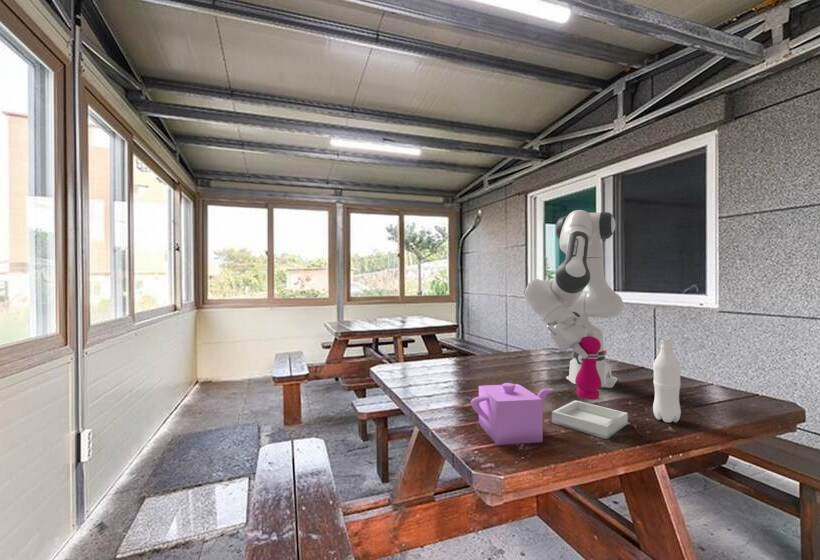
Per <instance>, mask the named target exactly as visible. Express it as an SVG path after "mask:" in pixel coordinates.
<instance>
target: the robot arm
mask: <svg viewBox="0 0 820 560" xmlns="http://www.w3.org/2000/svg"><path fill="white" fill-rule="evenodd" d="M616 224H617V223H616V220H615V218H614V215H613V214H612V213H611V212H608V211H601V212H588V211H587V210H583V209H576V210H573V211H571V212H570V213H568V215H565V216H562V217H560V218H558V220H557V221H556V223H555V234H556V237H557V239H559V240H558V241H559V249H560V250H561V252H563V253H564V254H565V255H566V256H565V259H564V260H563V261H562V262H561V263H560V264H559V266H558V268H557V270H556V273H555V276H554V278H553V279H552V280H551V279H550V280H542V279H538V278H534V279H533V280H531V281H530V282H529V283H528V284H527V285H526V287H525V288H524V291H523V298H524V299H525V301H526V303H527V304H528V306H529V307H530V308H531V309H532V311H533V312H534V313H535V314H536V315H537V316H539V317H540V318H541V321H542V322H543V323H544V325H545V326H546V328H547V330H548V334H549V336H550V337H551V339H552V340H553V342H554V343H555V344H556V345H557V347H558V348H559V349H560V350H562V351H566V350H572V357H573V358H572V359H571V360H569V371H568V373H569V374H568V375H567V376H566V380H567V381H569V382H571V384H574V385H577V384H576V383H575V380H576V376H577V373H578V372H579V370H580V368H581V365H582V358H583V359H586V358H588V357H589V353H588V352H587V351H584V350H583V349H582V348H581V347H580V345H579V342H581V339H582V338H583V337H586V336H587V333H588V332H593V337H595V338H597V339H598V340H599V341H600V344H601V348H600V350H599V351H598V352H597V353H598V354H599V355H598V358H597V361H596V368H597V371H598V374H599V376H600V379H601V387H600V388H608V389H612V388H613V387H614V386H615V385H616V383H617V381H618V378H617V377H615V376H612V367H611V365H610V364H609V363H608V362H607V361H606V355H607V350H606V349H604V333H603V331H602V330H601V329H600V328H599V327H598V326H596V325H594V324H592V323H591V322H590V320H589V318H602V319H607V318H608V319H609V318H615V317H618V316H619V315H621V313H622V312H623V309H624V301H623V299H622V297H621V296H620V294H618V293H617V292H616V291H614V290H613V289H612V288H611V287H610V285H608V282H607V280H606V277H605V271H604V270H605V269H604V248H603V243H606V240H609V239H610V238H611V237H612V235H614V231H615V230H616V226H617V225H616ZM586 287H588V290H585V288H586Z"/></svg>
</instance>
